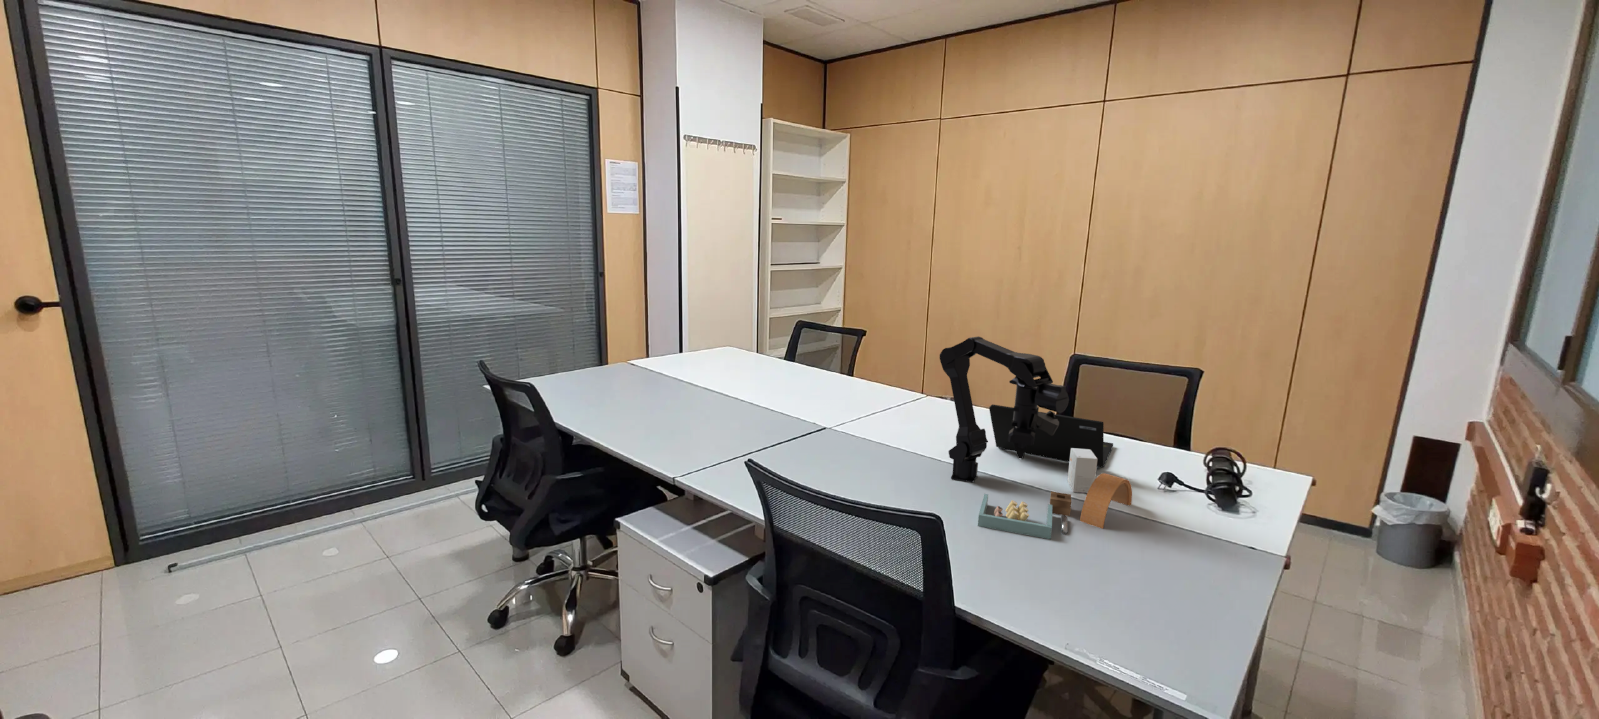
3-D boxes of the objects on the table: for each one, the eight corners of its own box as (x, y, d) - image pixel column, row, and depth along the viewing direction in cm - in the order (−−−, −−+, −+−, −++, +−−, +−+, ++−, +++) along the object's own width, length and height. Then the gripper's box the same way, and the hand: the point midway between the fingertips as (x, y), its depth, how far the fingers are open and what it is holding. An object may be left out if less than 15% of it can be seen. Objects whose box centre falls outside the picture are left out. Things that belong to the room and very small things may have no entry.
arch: (1079, 521, 162) (1083, 484, 160) (1109, 498, 176) (1114, 464, 173) (1102, 529, 158) (1107, 492, 156) (1131, 505, 171) (1136, 471, 169)
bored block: (1049, 512, 166) (1050, 498, 165) (1049, 505, 171) (1051, 491, 170) (1069, 516, 164) (1071, 502, 163) (1069, 508, 169) (1071, 494, 168)
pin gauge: (1060, 533, 155) (1061, 528, 155) (1060, 519, 162) (1061, 514, 162) (1067, 534, 155) (1067, 529, 154) (1066, 520, 162) (1067, 515, 162)
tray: (977, 525, 158) (978, 514, 158) (983, 504, 171) (984, 493, 170) (1050, 539, 152) (1051, 527, 152) (1051, 515, 165) (1052, 504, 164)
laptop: (1113, 448, 215) (1121, 393, 211) (1096, 486, 184) (1104, 422, 180) (1014, 430, 233) (1018, 378, 229) (982, 461, 202) (987, 403, 198)
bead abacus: (1027, 501, 162) (995, 497, 164) (1029, 514, 155) (995, 509, 157) (1026, 518, 163) (993, 514, 165) (1027, 532, 156) (993, 527, 158)
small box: (1093, 494, 178) (1098, 459, 176) (1072, 492, 179) (1076, 457, 177) (1087, 482, 186) (1091, 449, 183) (1066, 481, 187) (1070, 447, 184)
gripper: (1058, 417, 156) (1051, 476, 160) (1059, 397, 173) (1053, 451, 177) (1010, 410, 161) (1005, 468, 164) (1016, 392, 177) (1011, 445, 181)
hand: (1020, 458), depth 171 cm, fingers closed
